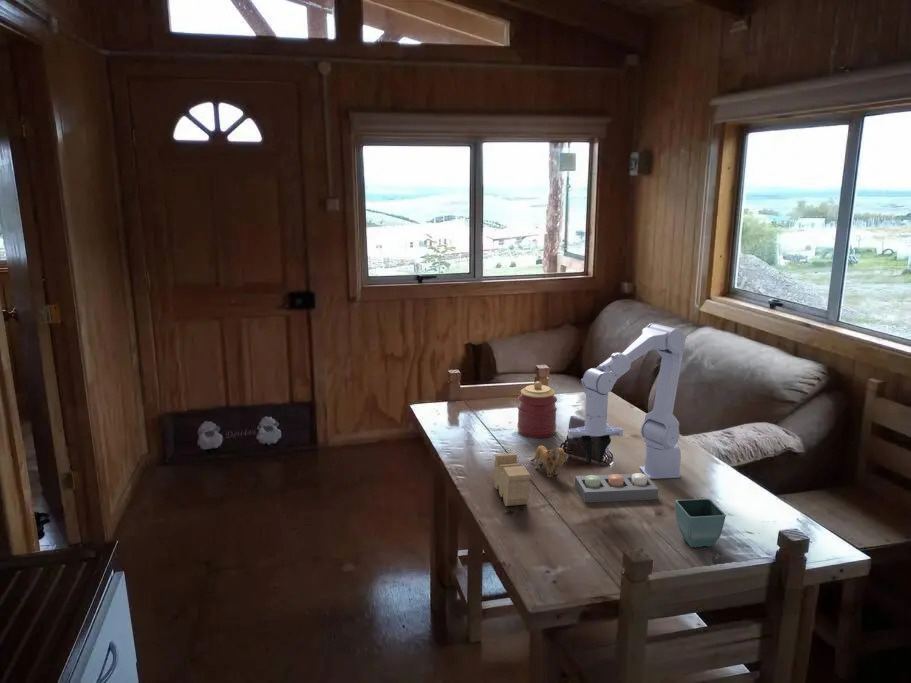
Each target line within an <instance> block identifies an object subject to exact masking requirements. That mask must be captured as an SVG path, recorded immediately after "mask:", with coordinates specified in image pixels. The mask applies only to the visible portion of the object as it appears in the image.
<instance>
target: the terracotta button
mask: <svg viewBox="0 0 911 683" xmlns="http://www.w3.org/2000/svg"><path fill="white" fill-rule="evenodd" d="M618 474H619V473H616V474H615V473H612V474H608V475H609V481H608V485H609V486H610V487H617V486H623V483H624V477H623V476H621V475H618Z"/></svg>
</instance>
